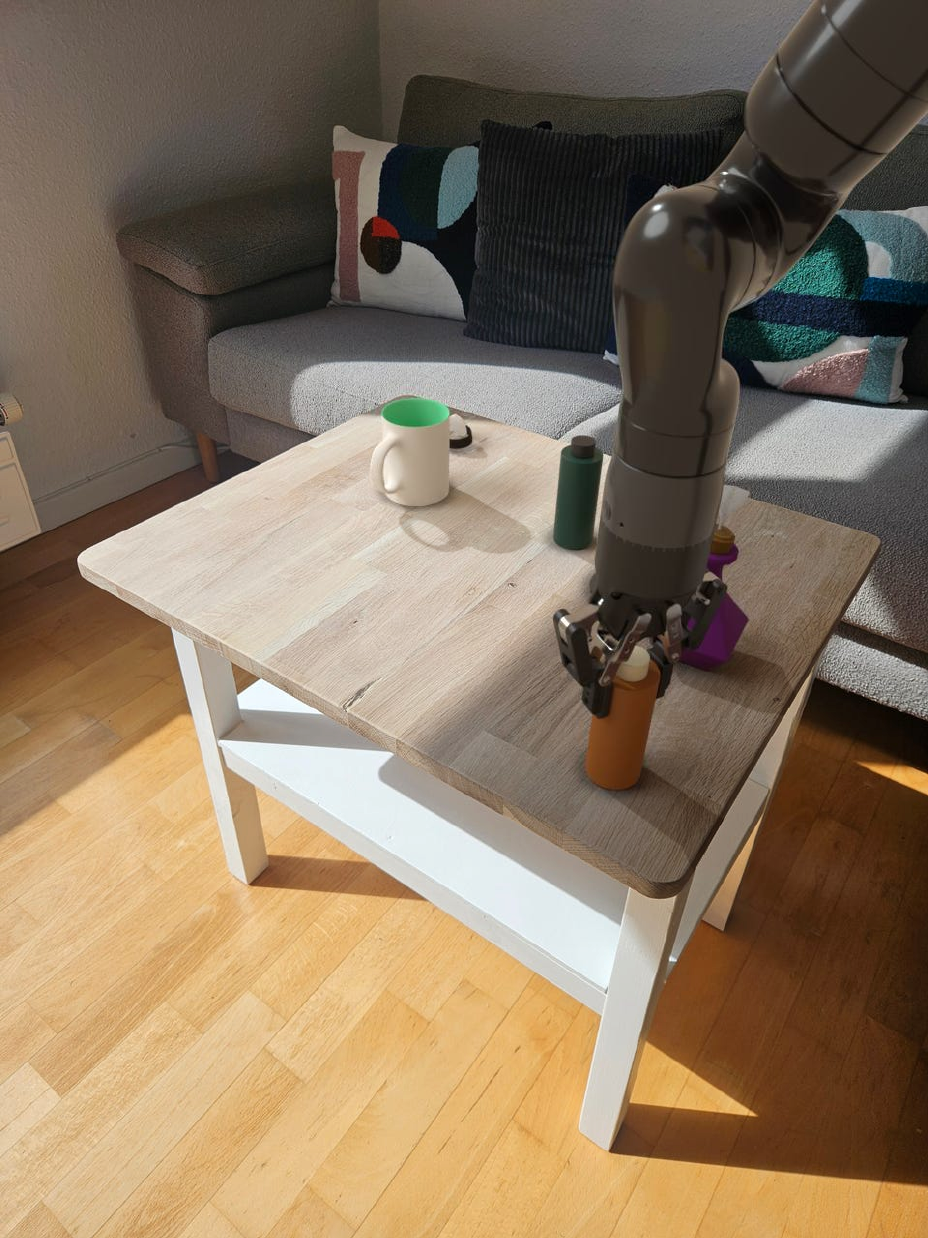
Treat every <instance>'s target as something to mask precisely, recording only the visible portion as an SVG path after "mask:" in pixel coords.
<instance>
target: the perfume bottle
mask: <svg viewBox="0 0 928 1238" xmlns="http://www.w3.org/2000/svg"><path fill="white" fill-rule="evenodd" d="M750 494H751V492H750V491H749V490H747V489H743V488H742V487H739V486H736V485H729V484H724V489H723V495H722V500H721V505H720V509H719V513H718V517H719V518H720V519H719V520H720V522H719V523H716V526H715V531H714V535H713V540H712V544H711V548H710V553H709V557H708V561H707V566H706V569H708V570H709V571H710V572H712V573H713V574H714V575H716V576H717V577H718V578H719V579H720V580H721V581H722V582H724V581H723V570H724V566H727V565H731V564H733V563H734V562H736V561H737V560H738V557H739V553H740V551H739V548H738V546H737V545H736V543H735V540H736V535H735V534H734V533H733V531H732V530H731V529H730V528H729V527H727V526H725V525H723V523H724V521H725V520H726V519H728V518H729V517H730V516H732V515H734V514H735V513H736V512H738V510H740V508H741V507H742V506H743V505H744V503H745V502H746V501H747V499H748V498H749V496H750ZM749 620H750V619H749V617H748V616H747V614H745V612H744V611H743V610H742V609H741V607H739V605H738V604H737V603H736V602H735V601H734V599H732V597H731V596H730V594H729V593H728V592H726V594H725V596H724V598H723V600H722V602H721V604H720V606H719V608H718V610H717V612H716V614H715V617H714V619H713V621H712V623H711V625H710V627H709V629H708V631H707V633H706V635H705V637H704V639H703V642H702V644H701V645H700V647H699V648H697V649H696V650H694V651H691V650H690V649H689V648H687V649H685V650H684V651H682V655H681V658H680V659H679V660H678V661H677V662H680V663H682V664H685V665H688V666H691V667H694V668H697V669H699V670H702V671H705V672H709V671H711V670H713V669H715V668H717V667H719V666H722V665H724V664H725V663H727V662H728V661H729V659H730V657H731V655H732V653H733V651H734V649H735V648H736V645H738V644H737V643H738V642H739V640H740V638H741V636H742V634H743V632H744V630H745V628H746V626H747V624H748V623H749ZM694 623H695V620H694V618H693V617H691V619H690V621H689V623H688V625H687V626H688V627H689V628H690V629H691V630H692V628H693V626H694Z"/></svg>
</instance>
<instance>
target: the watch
mask: <svg viewBox="0 0 928 1238" xmlns="http://www.w3.org/2000/svg"><path fill="white" fill-rule="evenodd" d="M449 428H451V429H452V431H453V432H454V433H455V434H456V435H458V436H460V437H463V438H449V449H451V450H452V449H453V450H461V449H465V448H467V447H469V446H471V445H472V444H473V432H472V429H471V427H470V426H468V424H467V422H466V421H465V420H464V419H463V418H462V417H461V416H460V415H458V414H457V413H454V414H452V415H450V426H449Z"/></svg>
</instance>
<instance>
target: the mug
mask: <svg viewBox="0 0 928 1238" xmlns="http://www.w3.org/2000/svg"><path fill="white" fill-rule="evenodd" d="M450 414H451V413H450V409H449V408H448V407H447V406H446V405H445V403H442V402H440V401H437V400H434V399H429V398H421V397H410V398H402V399H398V400H394V401H392V402H389V403H388V404H386V405H385V406H384V407H383V408H382V410H381V413H380V415H381V435H382V436H381V437H382V438H381V439H382V440H381V441H380V442H379V443H378V444H377V445H376V447H375V449H374V450H373V453H372V456H371V459H370V465H369V466H370V467H369V468H370V469H369V470H370V472H369V474H370V481H371V483H372V486H373V487H374V488H375V490H377V492H380V493H382V494H385V496H386V497H387V498H388V499H389V500H391V501H392V502H394V503H397V504H399V505H402V506H408V507H425V506H430V505H435V504H437V503H439V502H442V501H443V500H444V499H446V497H447V496H448V495H449V493H450V448H449V439H450V416H451V415H450Z"/></svg>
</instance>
